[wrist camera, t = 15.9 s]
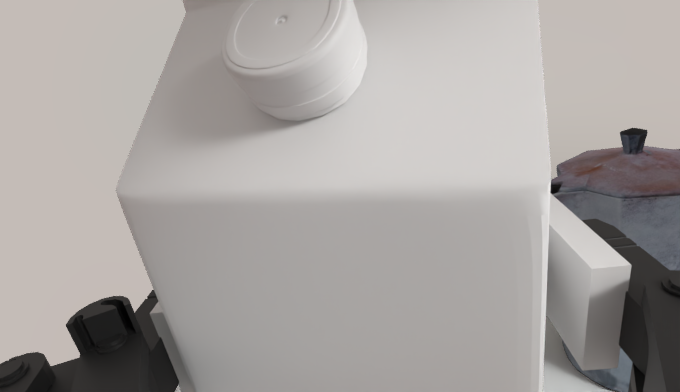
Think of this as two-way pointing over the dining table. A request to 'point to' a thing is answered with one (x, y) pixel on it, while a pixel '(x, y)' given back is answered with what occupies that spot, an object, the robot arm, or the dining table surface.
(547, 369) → the dining table surface
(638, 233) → the moka pot
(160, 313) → the robot arm
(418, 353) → the milk carton
